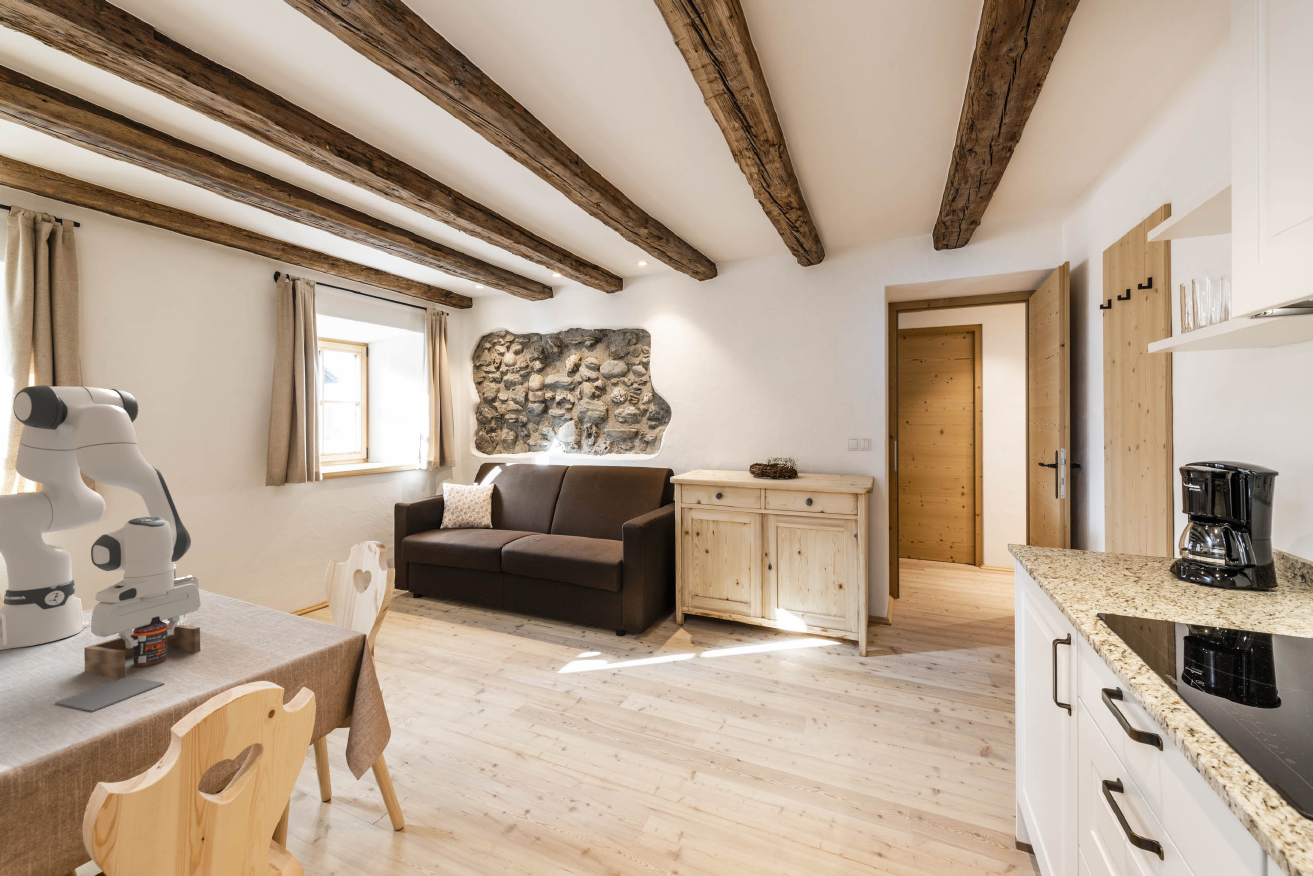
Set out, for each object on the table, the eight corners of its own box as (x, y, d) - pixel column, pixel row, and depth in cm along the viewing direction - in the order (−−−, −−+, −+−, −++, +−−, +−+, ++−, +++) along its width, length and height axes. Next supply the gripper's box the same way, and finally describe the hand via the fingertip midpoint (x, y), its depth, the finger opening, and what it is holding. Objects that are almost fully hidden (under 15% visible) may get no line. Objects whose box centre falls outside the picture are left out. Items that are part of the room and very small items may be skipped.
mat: (55, 704, 108) (55, 702, 108) (128, 677, 119) (128, 676, 119) (92, 712, 104) (92, 710, 104) (164, 684, 116) (164, 683, 116)
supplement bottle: (146, 669, 124) (145, 621, 124) (126, 667, 125) (125, 619, 125) (174, 658, 130) (173, 612, 130) (155, 656, 131) (154, 611, 131)
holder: (84, 673, 122) (84, 647, 122) (168, 646, 137) (167, 623, 137) (118, 679, 118) (118, 653, 118) (200, 650, 134) (199, 627, 134)
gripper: (189, 573, 138) (190, 625, 138) (85, 596, 118) (87, 657, 119) (206, 574, 136) (207, 627, 136) (104, 598, 117) (105, 660, 117)
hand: (150, 641), depth 127 cm, fingers closed on supplement bottle, 6 cm apart
